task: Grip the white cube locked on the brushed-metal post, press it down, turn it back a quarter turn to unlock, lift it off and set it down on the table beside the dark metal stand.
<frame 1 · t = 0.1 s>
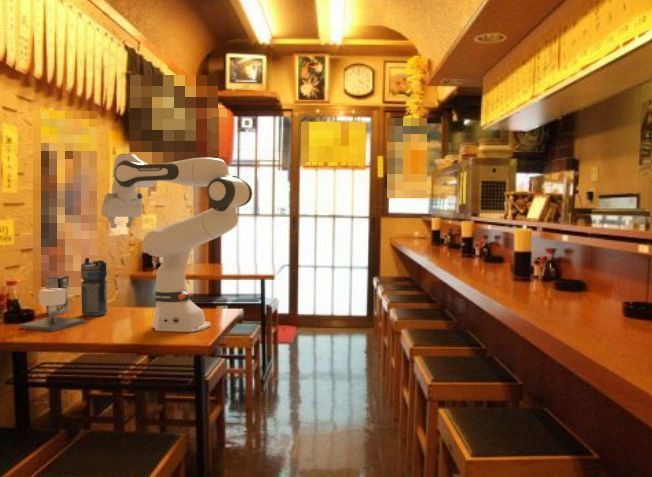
hand: (121, 227, 202), 39 cm above the table, tool pointing down, fingers open, 8 cm apart
post stand: (53, 325, 197), on the table
white cube: (52, 304, 197), point 9 cm above the table, touching post stand
coffee box: (58, 312, 224), on the table
beverage bottle: (96, 315, 218), on the table
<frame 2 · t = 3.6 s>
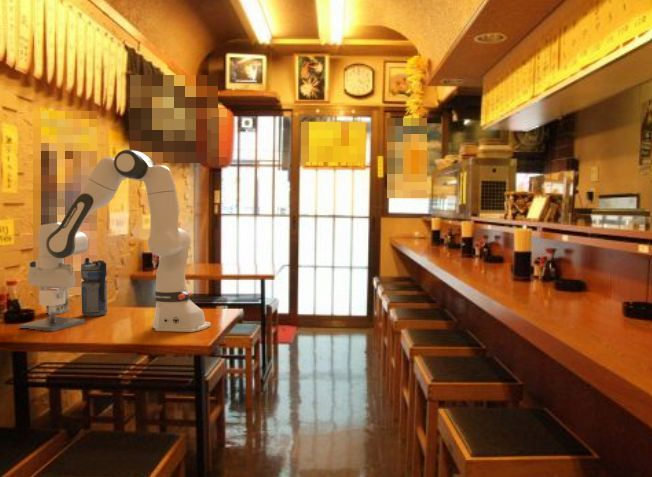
hand: (52, 297, 196), 11 cm above the table, tool pointing down, fingers closed on white cube, 6 cm apart
white cube: (52, 304, 197), point 9 cm above the table, touching gripper, post stand
everything else where it was.
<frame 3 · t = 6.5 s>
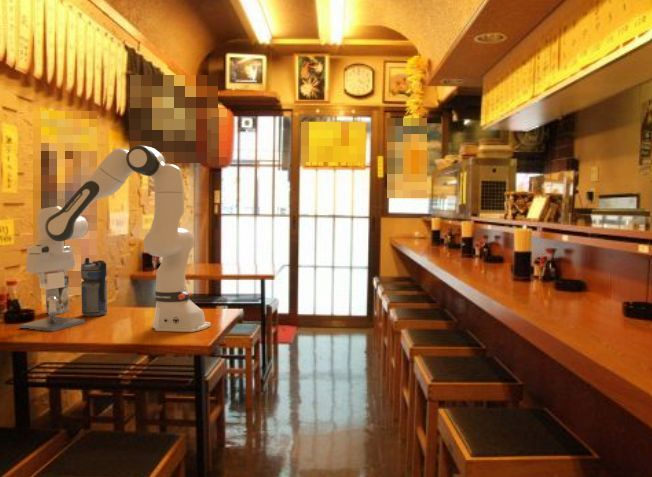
hand: (52, 282, 196), 17 cm above the table, tool pointing down, fingers closed on white cube, 7 cm apart
white cube: (52, 287, 197), point 15 cm above the table, touching gripper
everything else where it was.
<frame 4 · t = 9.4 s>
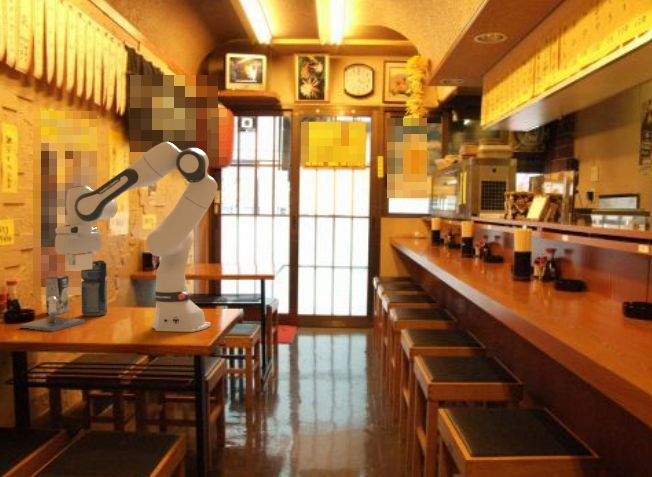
hand: (80, 264, 192), 25 cm above the table, tool pointing down, fingers closed on white cube, 7 cm apart
white cube: (79, 269, 192), point 23 cm above the table, touching gripper
everything else where it was.
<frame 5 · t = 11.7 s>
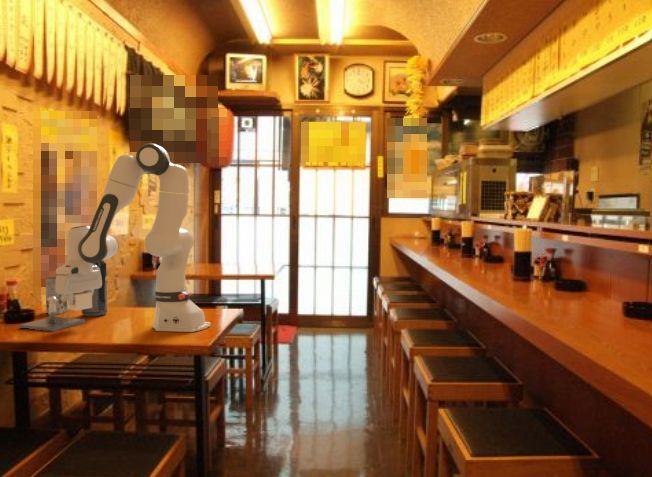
hand: (80, 303, 192), 10 cm above the table, tool pointing down, fingers closed on white cube, 7 cm apart
white cube: (79, 308, 193), point 8 cm above the table, touching gripper
everything else where it was.
when the fingers open (4 cm above the table, at t = 13.7 s): white cube drops 2 cm, on the table.
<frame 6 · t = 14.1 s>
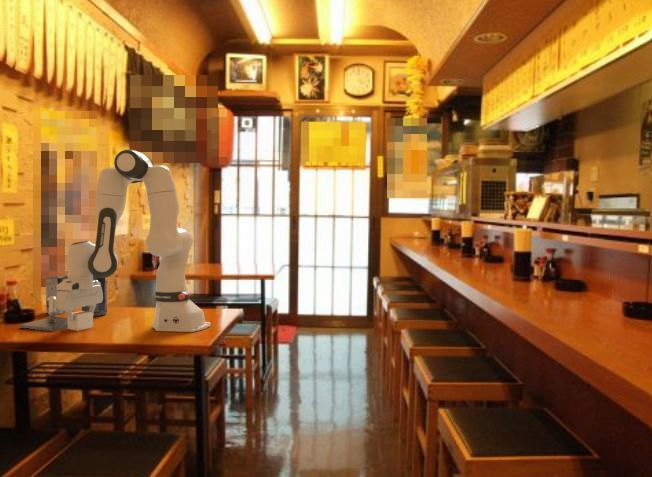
hand: (81, 318, 193), 4 cm above the table, tool pointing down, fingers open, 8 cm apart
white cube: (80, 328, 193), on the table
everything else where it was.
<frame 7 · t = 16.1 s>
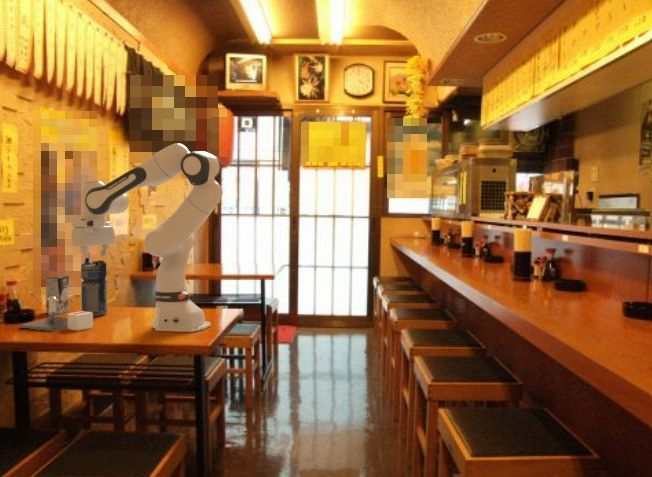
hand: (95, 256, 199), 27 cm above the table, tool pointing down, fingers open, 8 cm apart
nothing on the table moved.
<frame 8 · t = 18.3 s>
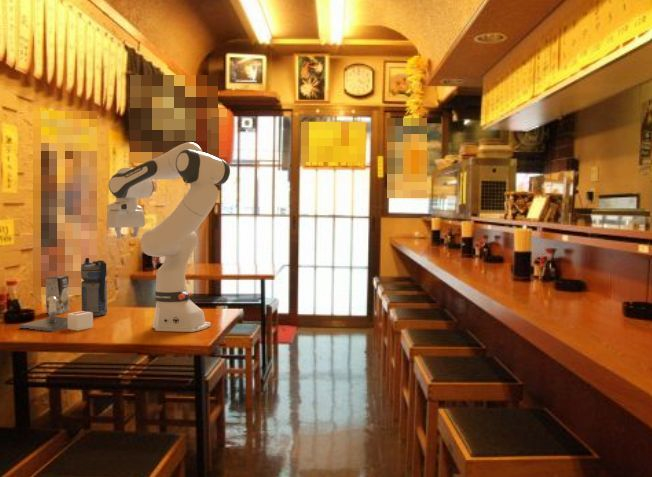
hand: (127, 237, 216), 34 cm above the table, tool pointing down, fingers open, 8 cm apart
nothing on the table moved.
at the end: white cube inside the target area (0.5 cm from its centre), on the table; white cube tilted 0°; the gripper is holding nothing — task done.
